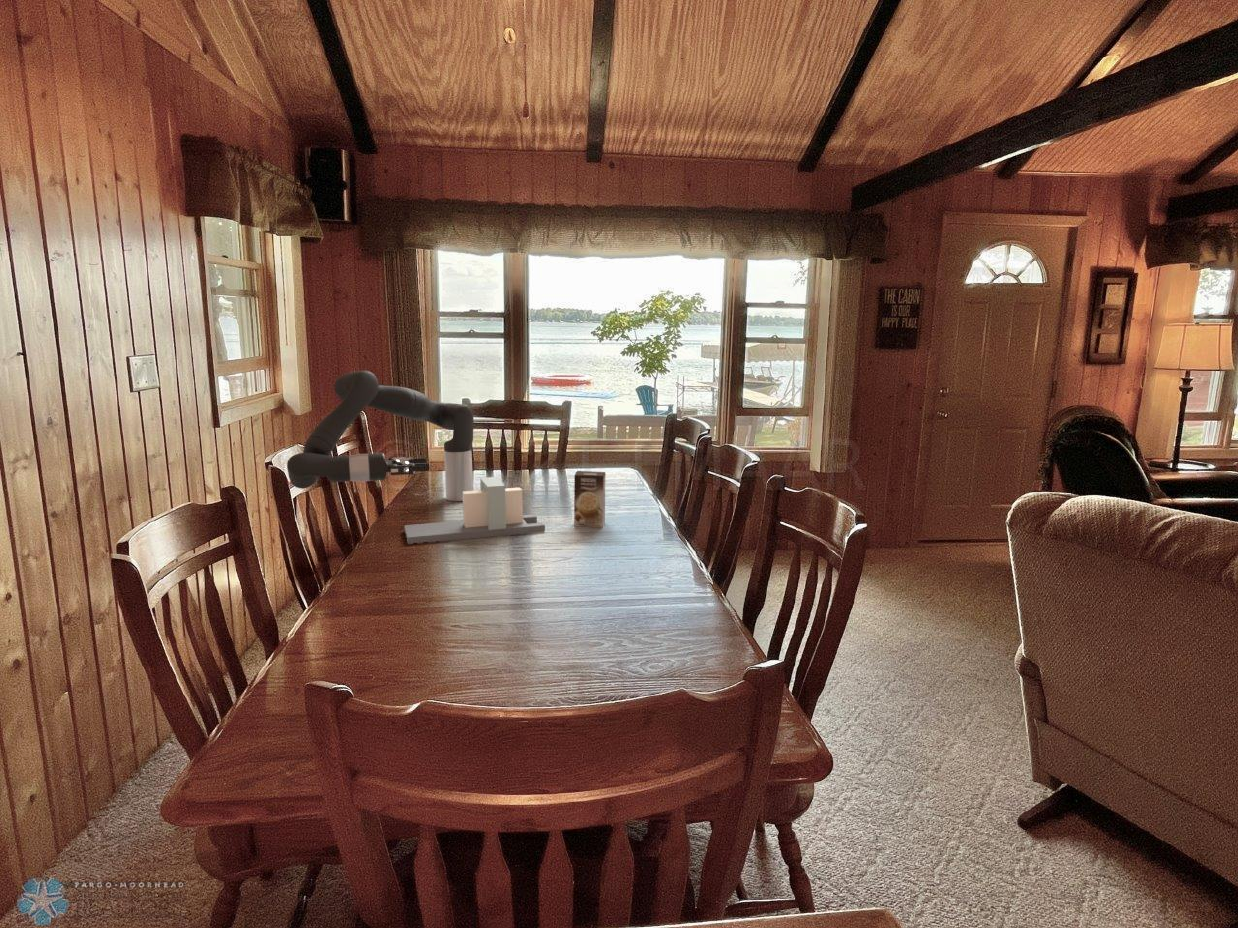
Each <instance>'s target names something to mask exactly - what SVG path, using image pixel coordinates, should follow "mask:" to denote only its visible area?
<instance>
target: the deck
mask: <svg viewBox="0 0 1238 928" xmlns="http://www.w3.org/2000/svg"><path fill="white" fill-rule="evenodd" d="M537 519H538V516H537V515H536V514H535V513H534V514H523V523H512V524H506V528H505V529H494V530H489V529H488V526H478V527H467V528H465V526H464V520H463V519H462V520H453V521H451V520H450V521H440V522H431V523H430V522H428V523H415V524H406V525H404V526H403V527H404V533H405V534H406V535H405V539H406V538H407V539H406V543H407V545H413V543H417V544H424V543H423V542H428V543H435V542H436V541H439V542H447V541H449V540H450V541H458V540H468V539H481V538H491V537H501V536H511V535H524V534H533V533H543V532H544V531H545V532H546V525H545V524H544V522H538V520H537ZM436 543H437V542H436Z"/></svg>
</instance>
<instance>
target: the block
mask: <svg viewBox="0 0 1238 928" xmlns="http://www.w3.org/2000/svg"><path fill="white" fill-rule="evenodd" d="M505 488H506V487H505ZM523 502H524V501H523V489H522V488H521V487H509V488H508V487H507V488H506V489H505V503H506V524H512V523H523V515H524V514H523V513H524V512H523V511H524V510H523V506H524V504H523ZM462 514H463V516H462V517H463V519H462V520H464V526H465V528H467V527H478V526H488V503H487V490H481V489H478V490H473V491H463V501H462Z"/></svg>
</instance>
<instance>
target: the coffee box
mask: <svg viewBox="0 0 1238 928" xmlns="http://www.w3.org/2000/svg"><path fill="white" fill-rule="evenodd" d="M573 481H574V492H573V494H574V497H573V498H574V501H573V503H574V504H573V506H574V507H573V513H574V514H573V526H574V527H584V528H585V527H586V528H588V527H590V528H603V527H604V525H605V521H606V520H605V519H606V471H591V470H590V471H588V470H577V471H576V472H575V473H574V480H573Z"/></svg>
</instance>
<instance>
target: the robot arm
mask: <svg viewBox="0 0 1238 928" xmlns="http://www.w3.org/2000/svg"><path fill="white" fill-rule="evenodd" d="M333 385H334V386H333V390H334V393H335V395H336V396H337V397H338V399H339V400H341V402H340V403H339V404H338V405H337V406H336V407H335V408H334V409H333V410H332V411H331V412H329V413H328V414H327V415H326V416H325V417H324V418H323V419H322V420H321V421H319V422H318V424H317V425H315V428H313V430H312V432H311V433H310V435H309V436H308V438H306V441H305V442H304V446H303V452H299V453H297V454H294V455H291V456H290V457H289V458H288V460H287V463H286V468H287V469H286V470H287V473H288V478H289V481H290V483H291V484H292V486H294V487H295V488H298V489H307V488H310V487H312V486H313V485H314V484H315V483H316V482H317V481H318V479H319V478H320V477H325V478H326V479H327V480H328V481H330V482H331V483H341V482H343V483H344V482H371V481H374V482H375V481H385V480H386V479H387V473H390V476H399V475H400V476H401V475H414V474H415V473H418V472H419V473H420V472H429V471H430V463H429V462H427V458H426V457H410V456H407V455H406V456H398V457H396V456H395V457H388V458H387V460H386V455H385V453H383V452H380V453H376V452H375V453H358V454H353V455H350V454H349V455H335V456H333V455H332V456H331V455H330V454H331V453H332V452H333V450H334V448H335V447H336V446H337V444H338V442H339V441H340V439H341V438H342V436H343V435H344V433H345V432H346V431H347V429H349V427H350V426H351V424H353V422H354V420H355V419H357V418H358V416H359V415H360V414H361V413H362V412H363V411H364V410H365V408H367V407H369V408H373V409H375V410H379V411H382V412H385V413H389V414H392V415H396V416H398V417H400V418H401V417H402V418H406V419H409V420H415V421H422V422H423V421H424V422H427V423H431V424H432V425H435V426H437V427H440V428H442V429H443V430H444V429H445V430H448V431H453V432H452V433H453V435H452V438H451V439H449V440H447V441H445V442H444V443H443V450H444V451H443V454H444V456H443V457H444V481H445V500H446V501H450V502H463V491H474V490H473V460H472V458H473V456H472V445H473V441H474V413H473V410H472V408H471V407H470V406H469V405H467V404H464V403H463V404H462V403H451V402H448V403H447V402H441V401H435V400H432V399H430V398H429V397H428V396H427V395H426V394H424V393H422V392H421V391H417V390H415V389H412V388H408V387H404V386H398V385H397V386H395V385H382V384H380V385H379V381H378V378H377V376H376V375H375V374H374V373H372V372H371V371H368V370H358V371H357V370H356V371H352V372H351V371H350V372H346V373H344V374H341V375H339V376H338V378H336V379H335V381H334V384H333Z"/></svg>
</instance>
